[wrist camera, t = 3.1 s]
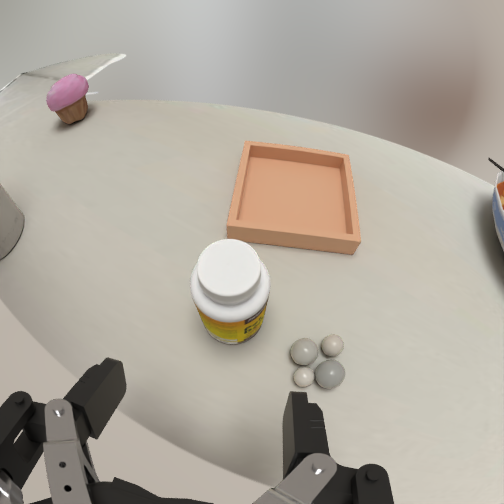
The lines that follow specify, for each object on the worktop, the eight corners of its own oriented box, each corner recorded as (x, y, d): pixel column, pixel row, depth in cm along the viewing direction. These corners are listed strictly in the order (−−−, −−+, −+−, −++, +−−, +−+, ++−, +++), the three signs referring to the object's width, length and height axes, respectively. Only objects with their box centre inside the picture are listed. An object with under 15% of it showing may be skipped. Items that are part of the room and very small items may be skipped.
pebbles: (285, 387, 23) (290, 385, 21) (290, 334, 25) (295, 326, 23) (338, 389, 23) (348, 387, 20) (340, 338, 25) (350, 331, 23)
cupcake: (97, 102, 47) (85, 63, 38) (95, 120, 43) (81, 77, 34) (60, 117, 45) (46, 80, 36) (55, 138, 41) (37, 97, 32)
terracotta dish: (227, 239, 30) (226, 225, 28) (244, 155, 37) (245, 140, 35) (352, 254, 30) (360, 241, 28) (343, 168, 37) (348, 155, 34)
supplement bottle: (248, 355, 24) (251, 325, 15) (193, 329, 25) (166, 285, 16) (272, 302, 27) (287, 246, 18) (219, 280, 28) (209, 216, 19)
